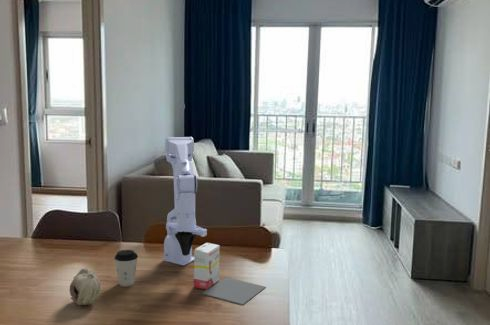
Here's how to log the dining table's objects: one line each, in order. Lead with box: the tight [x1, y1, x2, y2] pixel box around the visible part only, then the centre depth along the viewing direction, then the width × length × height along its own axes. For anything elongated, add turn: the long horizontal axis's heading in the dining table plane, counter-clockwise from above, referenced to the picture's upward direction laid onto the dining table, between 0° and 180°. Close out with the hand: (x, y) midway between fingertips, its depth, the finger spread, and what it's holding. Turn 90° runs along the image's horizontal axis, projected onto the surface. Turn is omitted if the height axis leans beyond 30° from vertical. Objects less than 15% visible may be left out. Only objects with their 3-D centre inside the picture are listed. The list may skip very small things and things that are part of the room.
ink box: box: [193, 242, 221, 291], centre depth 142 cm, size 9×5×12 cm, turn 157°
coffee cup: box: [114, 249, 139, 288], centre depth 141 cm, size 7×7×10 cm
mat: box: [201, 277, 266, 306], centre depth 138 cm, size 14×14×1 cm
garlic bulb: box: [68, 267, 101, 306], centre depth 127 cm, size 9×8×10 cm
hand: (186, 254), depth 145 cm, fingers closed
